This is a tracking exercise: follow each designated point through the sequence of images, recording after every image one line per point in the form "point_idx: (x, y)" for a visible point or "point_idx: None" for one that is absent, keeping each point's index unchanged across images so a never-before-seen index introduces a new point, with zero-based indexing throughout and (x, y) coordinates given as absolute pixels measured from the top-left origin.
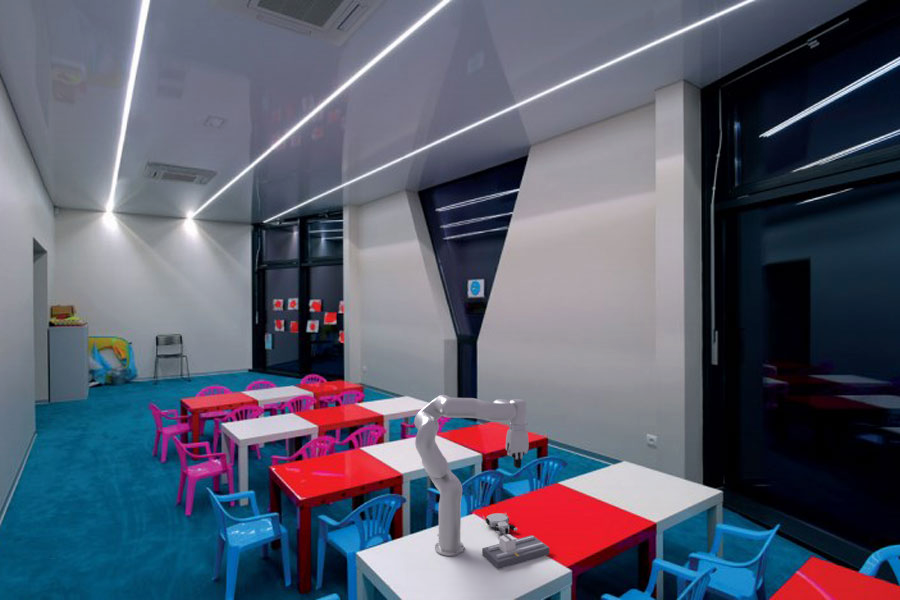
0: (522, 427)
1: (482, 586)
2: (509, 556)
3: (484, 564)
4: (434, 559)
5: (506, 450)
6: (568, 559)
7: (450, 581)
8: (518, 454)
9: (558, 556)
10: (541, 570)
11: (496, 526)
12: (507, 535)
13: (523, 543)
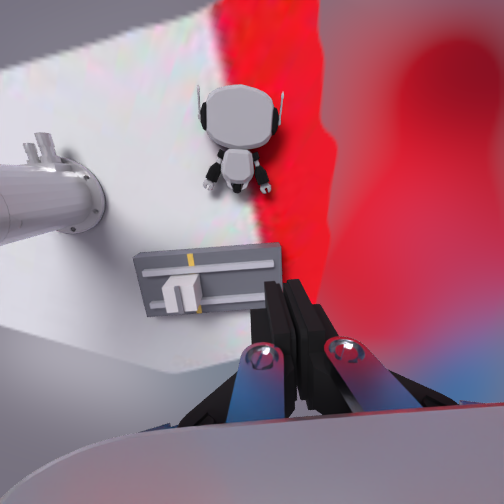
0: None
1: (106, 341)
2: None
3: (133, 284)
4: None
5: (36, 487)
6: None
7: (49, 311)
8: (356, 387)
9: None
10: (232, 336)
11: (218, 158)
12: (185, 289)
13: (237, 273)
